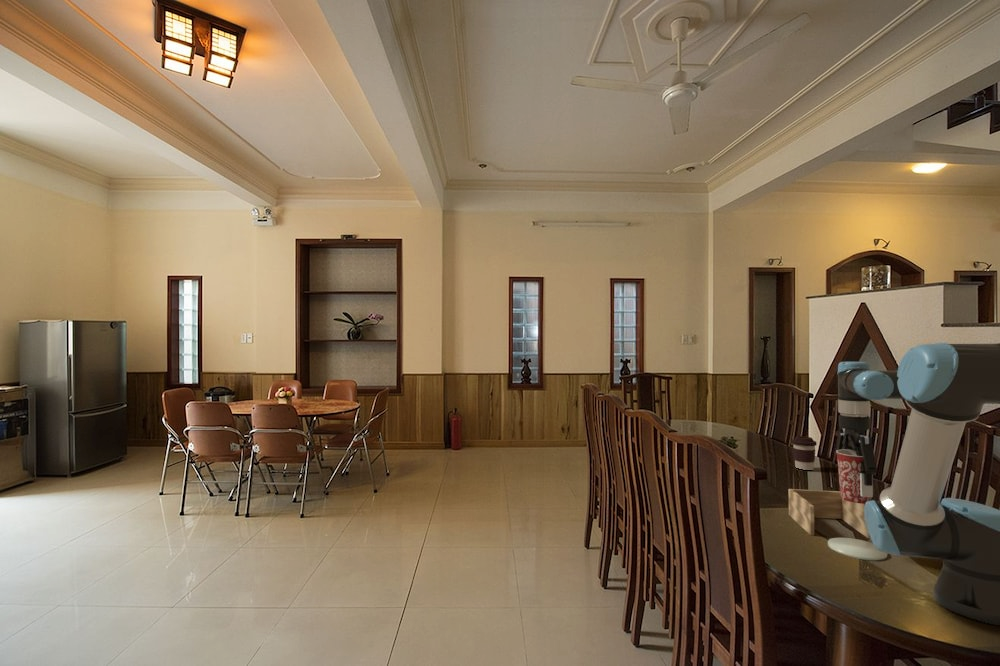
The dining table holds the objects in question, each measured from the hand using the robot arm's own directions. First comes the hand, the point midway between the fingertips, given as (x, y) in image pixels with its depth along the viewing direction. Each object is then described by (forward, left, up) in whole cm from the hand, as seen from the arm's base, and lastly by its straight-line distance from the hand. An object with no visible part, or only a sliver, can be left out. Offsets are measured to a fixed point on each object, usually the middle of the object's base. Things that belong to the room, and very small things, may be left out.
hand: (855, 490), depth 144 cm
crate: (+19, 0, -17) cm, 26 cm away
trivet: (0, 0, -17) cm, 17 cm away
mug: (0, 0, -3) cm, 3 cm away
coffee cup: (+96, -21, -17) cm, 100 cm away
